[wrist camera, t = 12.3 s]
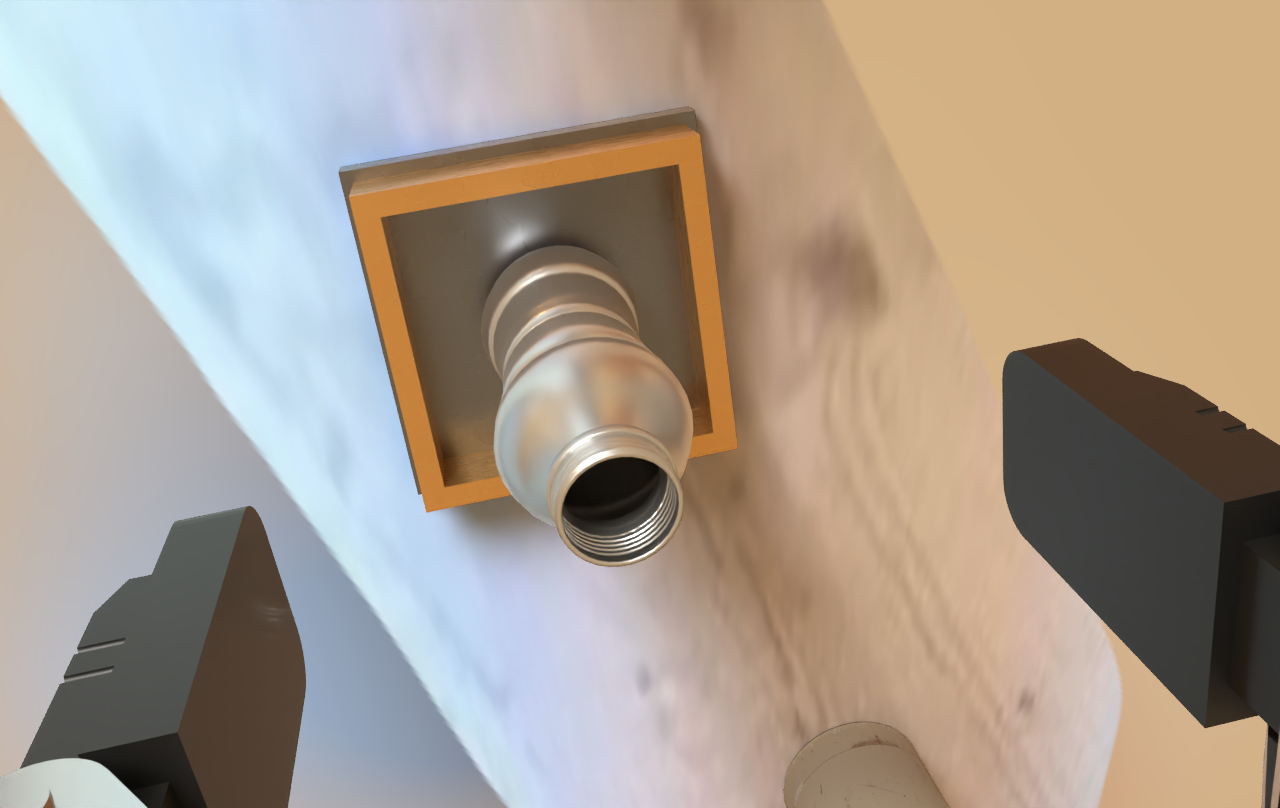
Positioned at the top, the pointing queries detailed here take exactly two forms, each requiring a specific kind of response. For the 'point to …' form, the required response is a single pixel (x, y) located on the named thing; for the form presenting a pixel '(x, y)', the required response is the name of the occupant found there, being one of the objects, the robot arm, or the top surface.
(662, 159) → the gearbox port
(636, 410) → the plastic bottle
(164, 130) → the top surface
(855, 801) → the thermos bottle
